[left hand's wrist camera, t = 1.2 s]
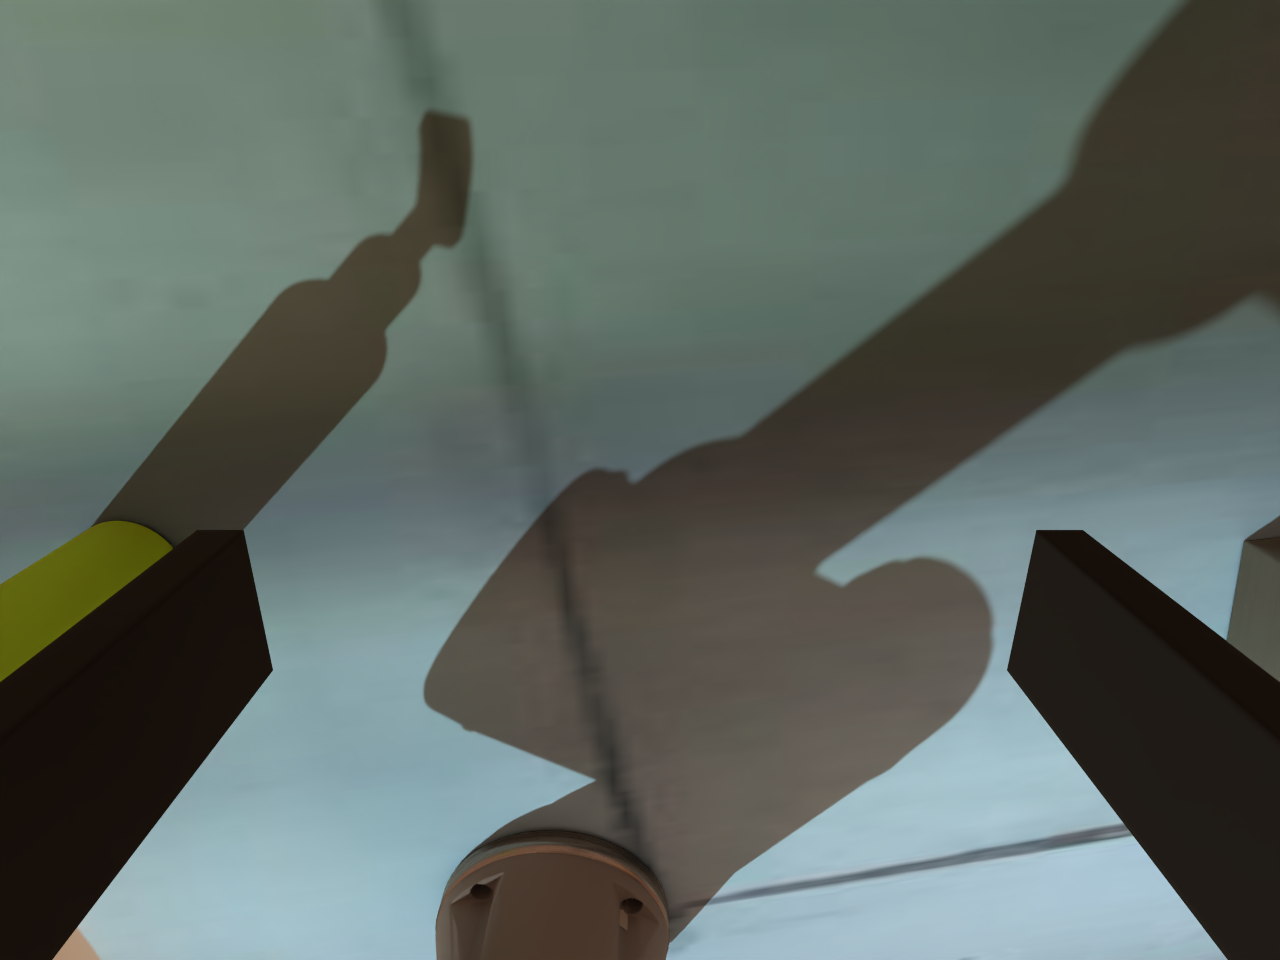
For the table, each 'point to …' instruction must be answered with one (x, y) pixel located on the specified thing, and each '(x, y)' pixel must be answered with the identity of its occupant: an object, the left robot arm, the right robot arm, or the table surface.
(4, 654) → the soap dispenser
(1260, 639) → the box
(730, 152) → the table surface
